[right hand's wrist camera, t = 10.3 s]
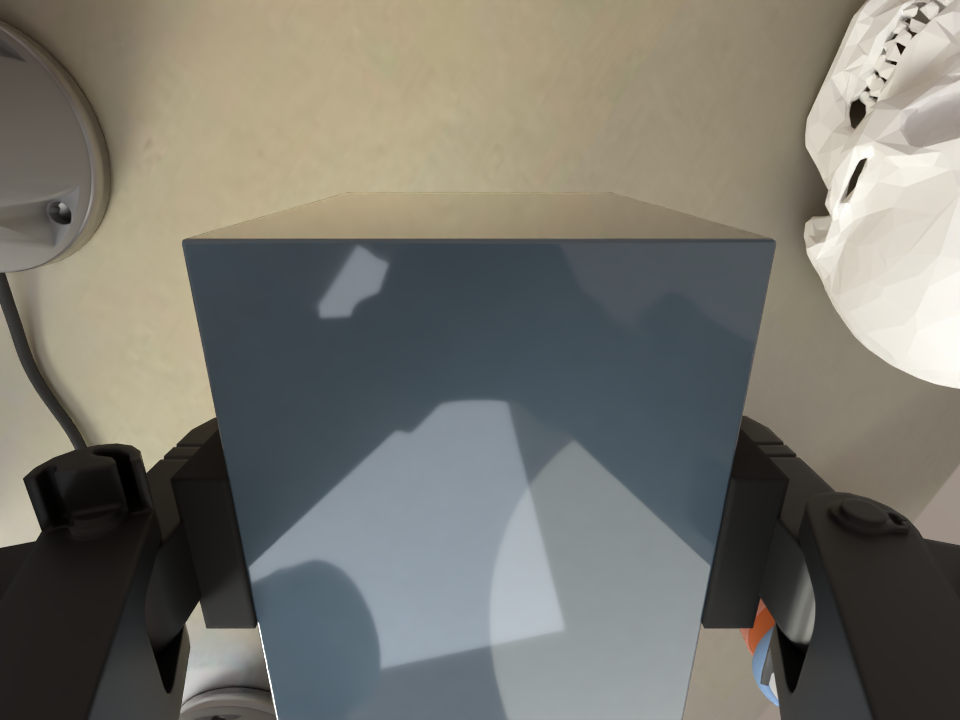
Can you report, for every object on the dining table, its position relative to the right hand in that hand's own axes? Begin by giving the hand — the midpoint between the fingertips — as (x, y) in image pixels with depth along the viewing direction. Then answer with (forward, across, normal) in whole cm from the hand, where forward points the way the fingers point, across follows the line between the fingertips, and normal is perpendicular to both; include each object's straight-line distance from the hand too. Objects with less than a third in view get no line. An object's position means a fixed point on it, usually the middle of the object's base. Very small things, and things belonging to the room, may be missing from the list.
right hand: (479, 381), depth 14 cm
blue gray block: (+2, 0, 0) cm, 2 cm away
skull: (+24, -26, -4) cm, 36 cm away
